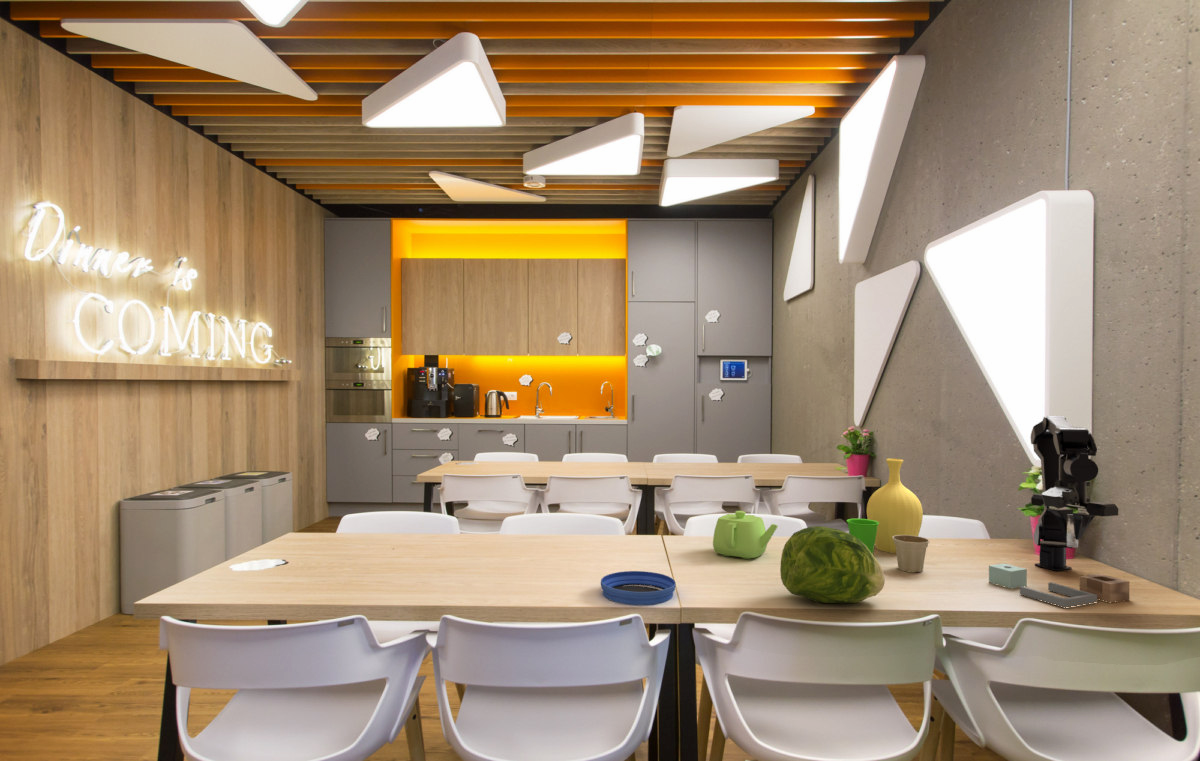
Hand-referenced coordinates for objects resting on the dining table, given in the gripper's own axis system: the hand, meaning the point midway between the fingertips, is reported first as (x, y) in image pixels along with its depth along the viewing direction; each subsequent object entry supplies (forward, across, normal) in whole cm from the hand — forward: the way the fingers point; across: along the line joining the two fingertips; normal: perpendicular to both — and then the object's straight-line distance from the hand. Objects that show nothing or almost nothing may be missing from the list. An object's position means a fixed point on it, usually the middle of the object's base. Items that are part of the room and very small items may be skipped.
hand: (1072, 538), depth 172 cm
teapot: (+13, -55, -61) cm, 83 cm away
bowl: (+14, -31, -107) cm, 112 cm away
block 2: (+12, +8, -1) cm, 15 cm away
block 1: (+13, -8, -13) cm, 20 cm away
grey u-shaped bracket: (+12, +6, -13) cm, 19 cm away
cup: (+12, -40, -31) cm, 52 cm away
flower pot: (+12, -26, -27) cm, 39 cm away
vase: (+12, -46, -13) cm, 50 cm away
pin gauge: (+2, 0, 0) cm, 2 cm away
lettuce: (+13, -12, -65) cm, 68 cm away
